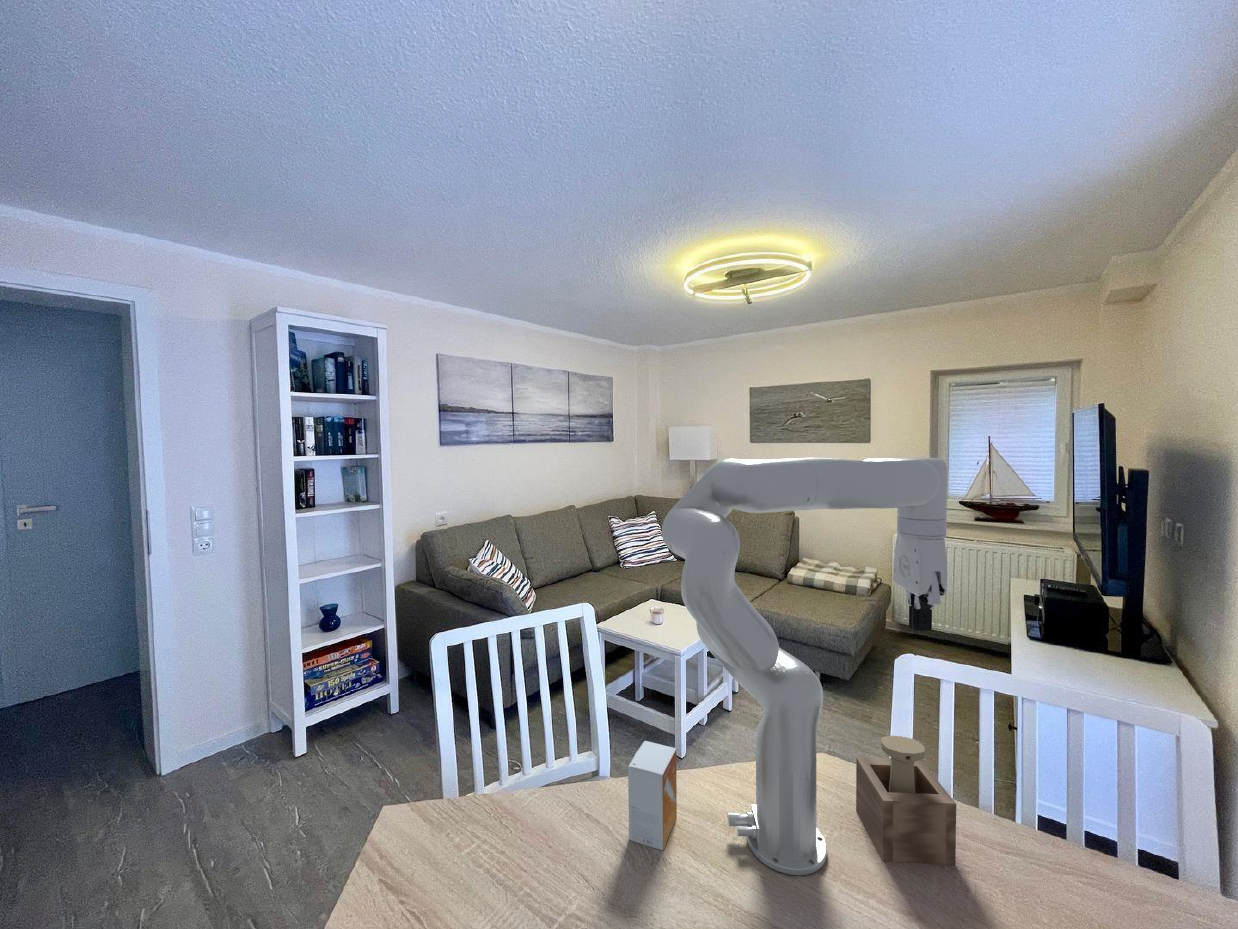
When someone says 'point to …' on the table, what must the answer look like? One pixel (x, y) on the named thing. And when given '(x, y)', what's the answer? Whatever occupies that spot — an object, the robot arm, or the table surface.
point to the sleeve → (906, 814)
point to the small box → (652, 794)
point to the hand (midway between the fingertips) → (920, 628)
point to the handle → (902, 761)
